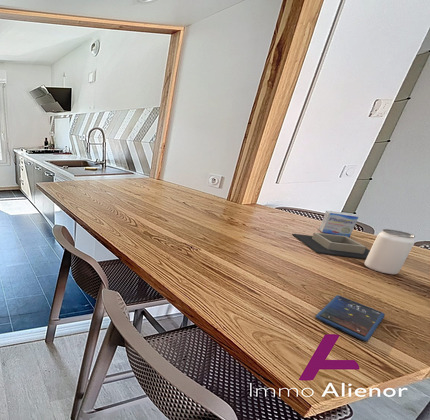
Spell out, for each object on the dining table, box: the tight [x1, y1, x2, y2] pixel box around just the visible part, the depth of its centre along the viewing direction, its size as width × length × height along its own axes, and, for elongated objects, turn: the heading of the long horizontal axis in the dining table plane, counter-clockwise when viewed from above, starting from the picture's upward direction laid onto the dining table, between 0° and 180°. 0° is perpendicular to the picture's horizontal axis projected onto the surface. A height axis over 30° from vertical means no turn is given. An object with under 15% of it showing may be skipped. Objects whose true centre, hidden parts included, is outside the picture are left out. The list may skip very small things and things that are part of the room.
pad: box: [291, 232, 371, 261], centre depth 86 cm, size 18×16×3 cm
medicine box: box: [318, 210, 359, 238], centre depth 97 cm, size 8×4×9 cm, turn 55°
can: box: [363, 228, 416, 276], centre depth 72 cm, size 6×6×12 cm
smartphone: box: [315, 294, 386, 342], centre depth 54 cm, size 8×1×15 cm
